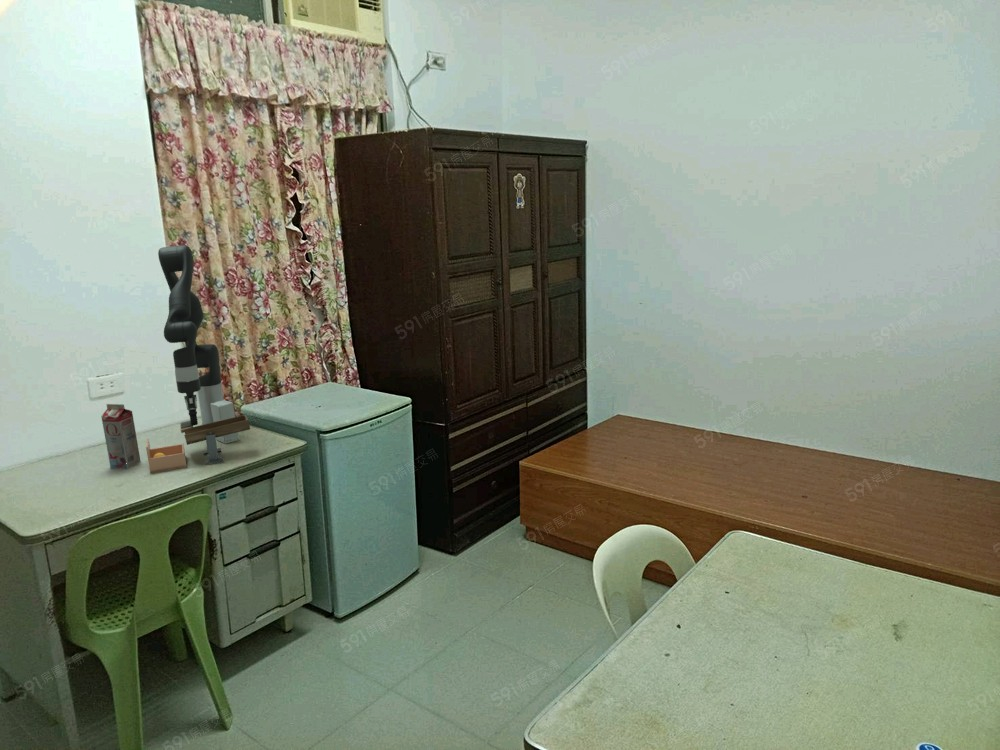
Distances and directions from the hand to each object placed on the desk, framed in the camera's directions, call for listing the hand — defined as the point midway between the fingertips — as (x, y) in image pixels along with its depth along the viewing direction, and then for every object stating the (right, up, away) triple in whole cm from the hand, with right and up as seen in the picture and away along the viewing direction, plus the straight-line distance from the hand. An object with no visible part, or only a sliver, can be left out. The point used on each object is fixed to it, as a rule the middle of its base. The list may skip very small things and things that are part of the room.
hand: (194, 421), depth 251 cm
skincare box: (+6, -8, +15) cm, 18 cm away
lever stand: (+8, -12, -3) cm, 15 cm away
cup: (-5, -14, -9) cm, 17 cm away
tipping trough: (+8, -3, 0) cm, 8 cm away
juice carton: (-21, -15, -7) cm, 26 cm away
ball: (-7, -12, -10) cm, 17 cm away
